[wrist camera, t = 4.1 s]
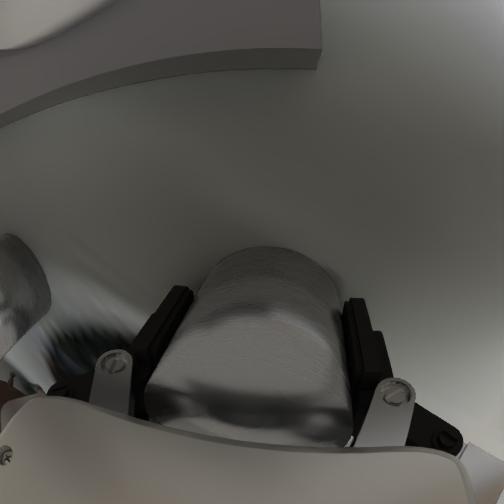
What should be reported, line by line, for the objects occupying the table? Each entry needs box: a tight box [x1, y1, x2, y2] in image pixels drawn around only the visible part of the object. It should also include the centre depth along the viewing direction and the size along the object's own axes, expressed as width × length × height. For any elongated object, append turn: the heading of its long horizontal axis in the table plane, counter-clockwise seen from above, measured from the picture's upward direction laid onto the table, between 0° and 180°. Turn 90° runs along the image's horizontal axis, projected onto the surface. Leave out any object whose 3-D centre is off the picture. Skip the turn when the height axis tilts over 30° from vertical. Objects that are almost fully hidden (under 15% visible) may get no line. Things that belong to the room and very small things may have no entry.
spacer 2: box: [143, 247, 353, 447], centre depth 10 cm, size 6×6×6 cm
